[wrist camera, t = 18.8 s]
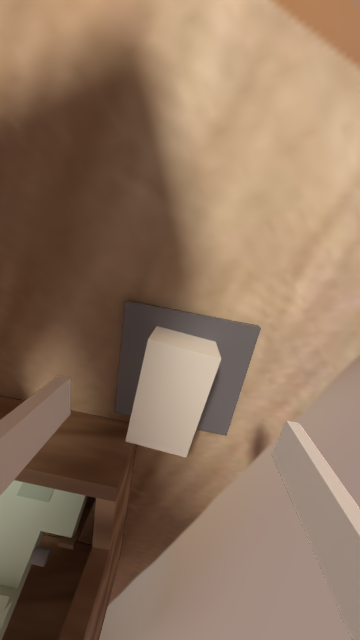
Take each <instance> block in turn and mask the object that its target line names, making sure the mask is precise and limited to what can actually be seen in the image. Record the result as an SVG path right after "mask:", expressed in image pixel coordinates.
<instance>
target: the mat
mask: <svg viewBox="0 0 360 640" xmlns="http://www.w3.org/2000/svg"><path fill="white" fill-rule="evenodd" d="M157 326H159V327H163V328H166V329H170V330H174V331H178V332H181V333H185V334H189V335H193V336H196V337H200V338H204V339H207V340H211V341H215V342H216V344H217V347H218V350H219V353H220V356H221V361H220V364H219V367H218V370H217V373H216V375H215V378H214V381H213V384H212V387H211V389H210V392H209V395H208V398H207V401H206V403H205V406H204V409H203V412H202V415H201V417H200V420H199V423H198V426H197V430H202V431H207V432H212V433H217V434H221V435H227V432H228V429H229V426H230V423H231V420H232V416H233V413H234V410H235V407H236V404H237V401H238V398H239V395H240V391H241V388H242V385H243V382H244V379H245V376H246V373H247V370H248V366H249V363H250V360H251V357H252V354H253V351H254V348H255V344H256V341H257V338H258V335H259V332H260V329H261V328H260V327H259V326H257V325H252V324H247V323H242V322H236V321H231V320H226V319H221V318H216V317H210V316H205V315H200V314H195V313H190V312H185V311H179V310H174V309H169V308H164V307H159V306H153V305H148V304H143V303H138V302H133V301H126V302H125V309H124V319H123V329H122V340H121V350H120V360H119V370H118V380H117V390H116V401H115V411H114V412H115V413H119V414H124V415H129V416H131V414H132V409H133V405H134V400H135V396H136V391H137V387H138V382H139V378H140V373H141V369H142V364H143V360H144V355H145V351H146V346H147V342H148V339H149V337H150V336H151V334H152V333H153V331H154V330H155V328H156V327H157Z"/></svg>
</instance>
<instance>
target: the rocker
mask: <svg viewBox="0 0 360 640" xmlns="http://www.w3.org/2000/svg"><path fill="white" fill-rule="evenodd" d="M87 498H88V496H85V495H80V494H76V493H71V492H67V491H62V490H57V489H53V488H48V487H43V486H39V485H34V484H30V483H25V482H20V481H16V480H14V481H13V482H12V483H11V484H10V485H9V486H8V488H7V489H6V490H5V491H4V492H3V493H2V495H1V496H0V640H2V638H3V636H4V633H5V631H6V628H7V626H8V623H9V620H10V618H11V615H12V613H13V610H14V608H15V605H16V603H17V600H18V598H19V595H20V593H21V590H22V588H23V585H24V583H25V580H26V578H27V575H28V573H29V570H30V568H31V565H32V564H33V565H37V566H41V567H44V566H45V564H46V563H47V561H48V559H49V556H50V554H51V549H49V548H45V547H40V546H39V545H40V542H41V540H42V537H43V535H44V532H47V533H52V534H56V535H61V536H66V537H70V538H71V537H72V536H73V535H74V534H75V533H76V531H77V528H78V525H79V522H80V519H81V516H82V513H83V510H84V507H85V504H86V501H87Z"/></svg>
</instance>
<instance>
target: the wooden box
mask: <svg viewBox="0 0 360 640" xmlns="http://www.w3.org/2000/svg"><path fill="white" fill-rule="evenodd" d="M23 402H24V401H22V400H17V399H12V398H8V397H3V396H0V420H1V419H2V418H3V417H5V416H6V415H7V414H9V413H10V412H11V411H13V410H14V409H15V408H16V407H18V406H19V405H20V404H22V403H23ZM128 427H129V422H124V421H119V420H114V419H109V418H104V417H100V416H95V415H90V414H85V413H80V412H75V411H70V415H69V416H68V418H67V419H66V420H65V421H64V422H63V423H62V425H61V426H60V427H59V428H58V429H57V430H56V432H55V433H54V434H53V435H52V436H51V437H50V439H49V440H48V441H47V442H46V443H45V444H44V446H43V447H42V448H41V449H40V450H39V451H38V453H37V454H36V455H35V456H34V457H33V458H32V460H31V461H30V462H29V463H28V464H27V465H26V467H25V468H24V469H23V470H22V471H21V472H20V474H19V475H18V476H17V477H16V478H15V479H14V480H16V481H20V482H25V483H30V484H34V485H39V486H43V487H48V488H53V489H57V490H62V491H67V492H71V493H76V494H80V495H85V496H88V498H87V501H86V504H85V507H84V510H83V513H82V516H81V519H80V522H79V525H78V528H77V531H76V533H75V534H74V535H73V536H72V537H71V538H70V537H66V536H61V537H60V538H57V537H52V536H48V535H43V537H42V540H41V542H40V545H39V546H40V547H45V548H49V549H51V554H50V556H49V559H48V561H47V563H46V564H45V566H44V567H41V566H37V565H33V564H32V565H31V568H30V570H29V573H28V575H27V578H26V580H25V583H24V585H23V588H22V590H21V593H20V595H19V598H18V600H17V603H16V605H15V608H14V610H13V613H12V615H11V618H10V620H9V623H8V626H7V628H6V631H5V633H4V636H3V638H2V640H99V637H100V633H101V629H102V625H103V622H104V618H105V614H106V610H107V606H108V602H109V598H110V594H111V590H112V586H113V583H114V579H115V575H116V571H117V567H118V563H119V559H120V553H121V546H122V539H123V533H124V526H125V519H126V512H127V506H128V499H129V492H130V486H131V479H132V472H133V465H134V459H135V452H136V445H137V444H133V443H129V442H126V436H127V432H128ZM95 498H96V505H95V518H94V531H93V544H92V545H88V544H84V543H79V542H77V540H78V538H79V535H80V533H81V531H82V528H83V526H84V524H85V521H86V519H87V517H88V515H89V512H90V510H91V508H92V505H93V503H94V501H95Z"/></svg>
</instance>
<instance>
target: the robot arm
mask: <svg viewBox="0 0 360 640" xmlns="http://www.w3.org/2000/svg"><path fill="white" fill-rule="evenodd" d="M70 410H71V377H66V376H61V375H58V376H57V377H55V378H54V379H53V380H51V381H50V382H49V383H48V384H46V385H45V386H44V387H42V388H41V389H40V390H38V391H37V392H36V393H35V394H33V395H32V396H31V397H29V398H28V399H27V400H25V401H24V402H23V403H22V404H20V405H19V406H18V407H16V408H15V409H14V410H13V411H11V412H10V413H9V414H7V415H6V416H5V417H3V418H2V419H1V420H0V496H1V495H2V493H3V492H4V491H5V490H6V489H7V488H8V486H9V485H10V484H11V483H12V482H13V481H14V479H15V478H16V477H17V476H18V475H19V474H20V472H21V471H22V470H23V469H24V468H25V467H26V465H27V464H28V463H29V462H30V461H31V460H32V458H33V457H34V456H35V455H36V454H37V453H38V451H39V450H40V449H41V448H42V447H43V446H44V444H45V443H46V442H47V441H48V440H49V439H50V437H51V436H52V435H53V434H54V433H55V432H56V430H57V429H58V428H59V427H60V426H61V425H62V423H63V422H64V421H65V420H66V419H67V418H68V416H69V415H70ZM272 457H273V459H274V461H275V464H276V466H277V469H278V471H279V473H280V476H281V478H282V480H283V482H284V485H285V487H286V489H287V492H288V494H289V496H290V499H291V501H292V503H293V506H294V508H295V510H296V512H297V515H298V517H299V519H300V522H301V524H302V526H303V528H304V531H305V533H306V535H307V538H308V540H309V542H310V545H311V547H312V549H313V552H314V554H315V556H316V559H317V561H318V563H319V566H320V568H321V570H322V572H323V575H324V577H325V579H326V582H327V584H328V586H329V589H330V591H331V593H332V596H333V598H334V600H335V602H336V605H337V607H338V609H339V612H340V614H341V616H342V619H343V621H344V623H345V625H346V628H347V630H348V632H349V635H350V637H351V639H352V640H360V508H359V507H358V505H357V504H356V503H355V501H354V500H353V498H352V497H351V496H350V494H349V493H348V491H347V490H346V489H345V487H344V486H343V484H342V483H341V481H340V480H339V479H338V477H337V476H336V474H335V473H334V472H333V470H332V469H331V467H330V466H329V464H328V463H327V462H326V460H325V459H324V457H323V456H322V455H321V453H320V452H319V450H318V449H317V447H316V446H315V445H314V443H313V442H312V440H311V439H310V438H309V436H308V435H307V433H306V432H305V431H304V429H303V428H302V426H301V425H300V424H299V423H296V422H291V421H286V423H285V425H284V428H283V430H282V432H281V435H280V437H279V439H278V442H277V444H276V446H275V449H274V451H273V453H272Z"/></svg>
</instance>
